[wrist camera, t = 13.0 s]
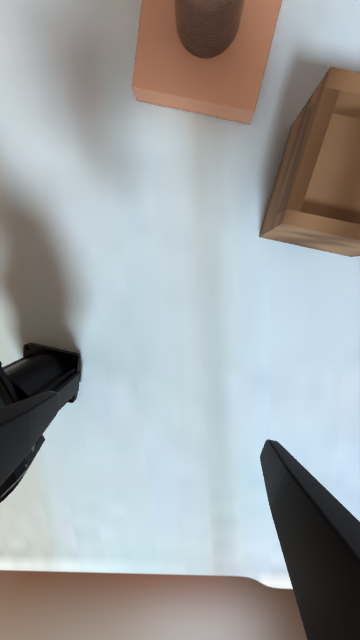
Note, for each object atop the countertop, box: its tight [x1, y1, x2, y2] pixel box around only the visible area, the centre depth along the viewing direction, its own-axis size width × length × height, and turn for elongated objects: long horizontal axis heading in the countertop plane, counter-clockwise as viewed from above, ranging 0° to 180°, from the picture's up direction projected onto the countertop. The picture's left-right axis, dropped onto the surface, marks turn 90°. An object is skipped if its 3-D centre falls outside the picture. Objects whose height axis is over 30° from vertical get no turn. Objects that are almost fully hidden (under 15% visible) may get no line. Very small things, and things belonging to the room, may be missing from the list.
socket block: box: [260, 67, 360, 257], centre depth 15 cm, size 9×9×4 cm
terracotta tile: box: [132, 0, 282, 124], centre depth 14 cm, size 10×10×1 cm
